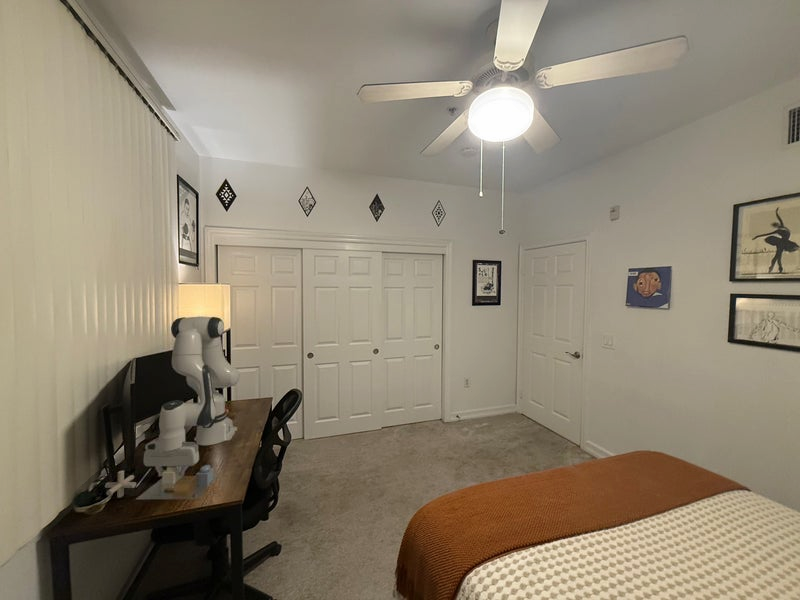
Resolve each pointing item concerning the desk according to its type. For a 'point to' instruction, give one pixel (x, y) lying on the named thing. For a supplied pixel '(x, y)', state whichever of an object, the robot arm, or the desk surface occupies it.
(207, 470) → the blue-grey knobbed block
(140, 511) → the desk surface
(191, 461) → the robot arm
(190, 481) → the pigtail stub
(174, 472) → the cream knobbed block
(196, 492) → the plate
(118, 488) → the pipe connector
